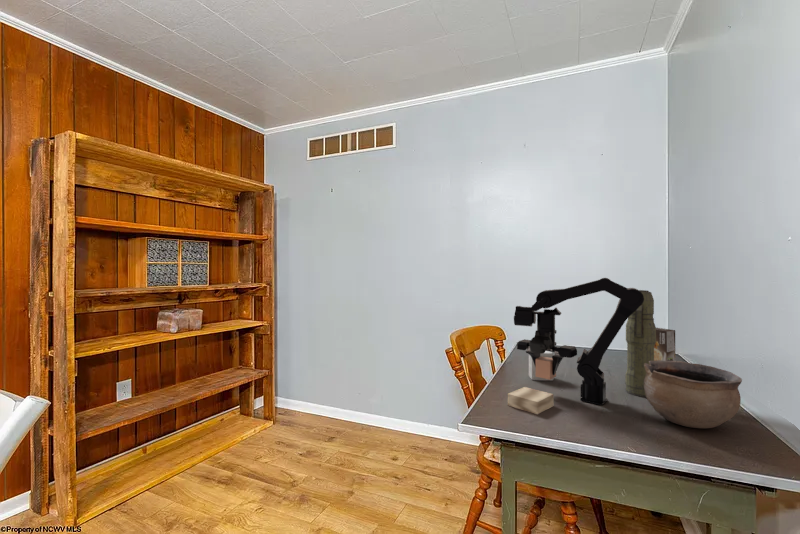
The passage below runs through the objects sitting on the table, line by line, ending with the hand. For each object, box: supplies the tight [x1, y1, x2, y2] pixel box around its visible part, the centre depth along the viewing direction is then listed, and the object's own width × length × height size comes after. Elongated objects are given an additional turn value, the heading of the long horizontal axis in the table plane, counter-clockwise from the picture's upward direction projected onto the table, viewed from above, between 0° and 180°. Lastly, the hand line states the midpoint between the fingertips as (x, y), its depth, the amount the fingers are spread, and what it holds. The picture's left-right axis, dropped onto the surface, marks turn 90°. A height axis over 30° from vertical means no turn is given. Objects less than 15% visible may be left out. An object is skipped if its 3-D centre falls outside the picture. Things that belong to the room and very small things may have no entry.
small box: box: [528, 351, 554, 381], centre depth 151 cm, size 8×6×10 cm
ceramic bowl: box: [644, 360, 743, 429], centre depth 109 cm, size 22×22×15 cm
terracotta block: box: [536, 357, 557, 381], centre depth 133 cm, size 5×5×6 cm
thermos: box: [624, 289, 657, 398], centre depth 134 cm, size 9×12×35 cm
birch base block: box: [507, 386, 555, 415], centre depth 122 cm, size 10×10×4 cm
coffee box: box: [654, 327, 676, 361], centre depth 168 cm, size 9×6×16 cm
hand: (545, 373), depth 133 cm, fingers closed on terracotta block, 5 cm apart
